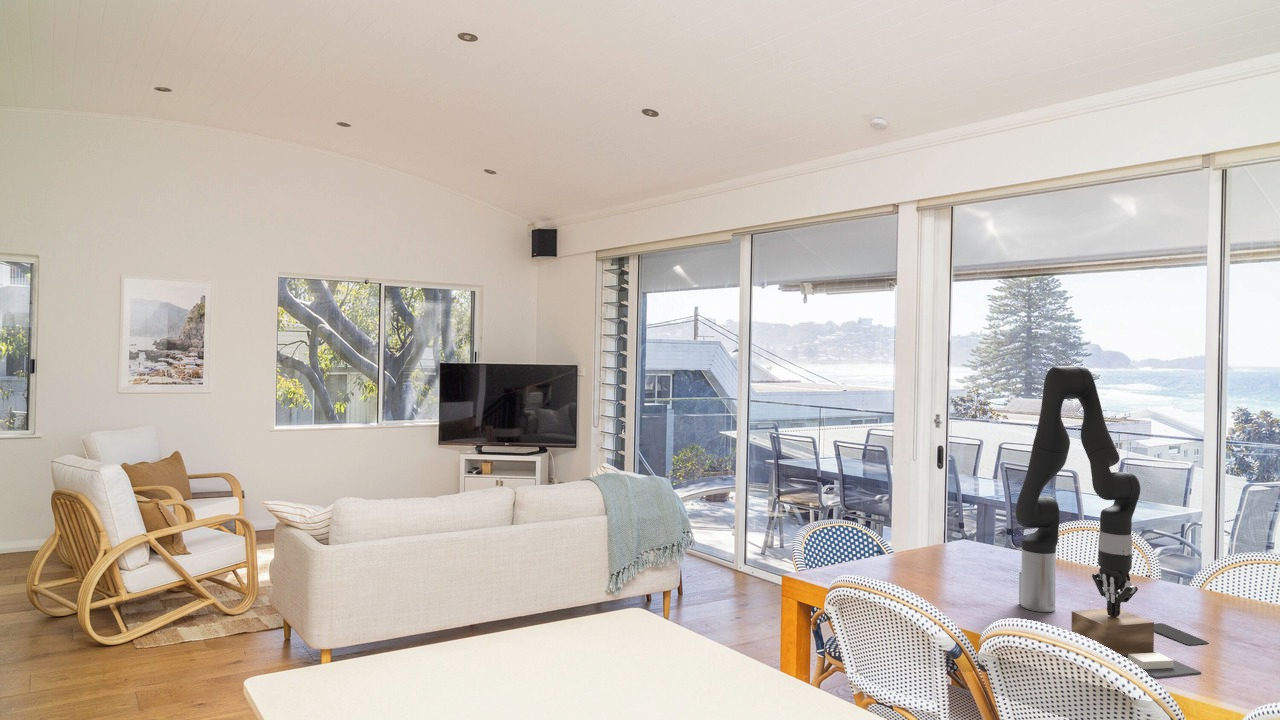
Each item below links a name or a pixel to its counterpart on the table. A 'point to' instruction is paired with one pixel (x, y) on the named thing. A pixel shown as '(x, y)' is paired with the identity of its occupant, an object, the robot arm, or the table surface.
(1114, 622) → the brown wooden block
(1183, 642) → the smartphone
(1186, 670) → the rubber mat
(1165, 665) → the card box
